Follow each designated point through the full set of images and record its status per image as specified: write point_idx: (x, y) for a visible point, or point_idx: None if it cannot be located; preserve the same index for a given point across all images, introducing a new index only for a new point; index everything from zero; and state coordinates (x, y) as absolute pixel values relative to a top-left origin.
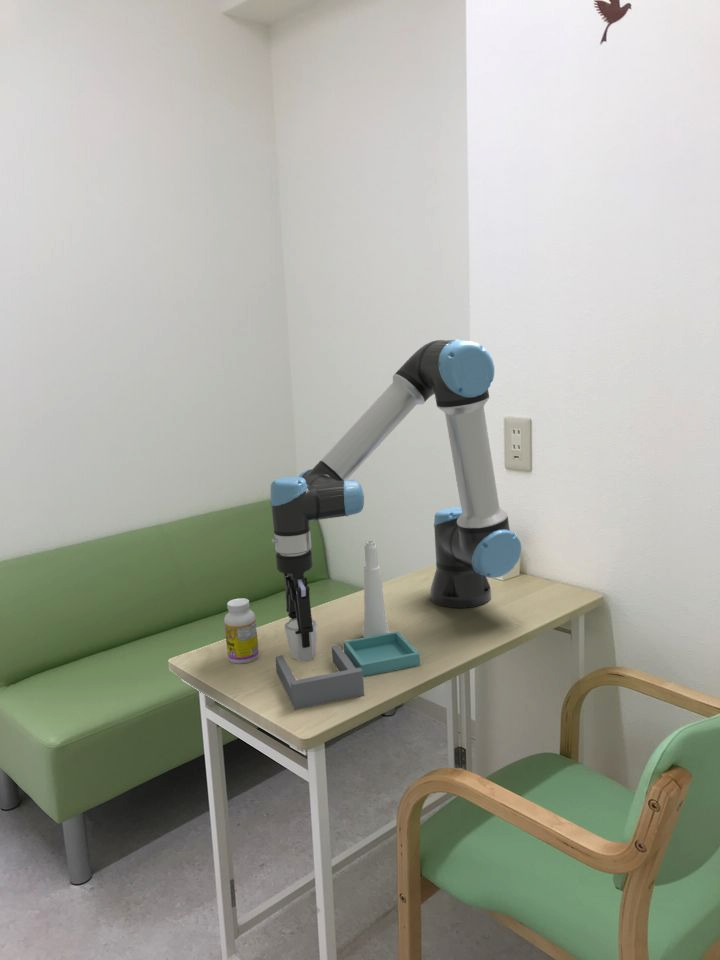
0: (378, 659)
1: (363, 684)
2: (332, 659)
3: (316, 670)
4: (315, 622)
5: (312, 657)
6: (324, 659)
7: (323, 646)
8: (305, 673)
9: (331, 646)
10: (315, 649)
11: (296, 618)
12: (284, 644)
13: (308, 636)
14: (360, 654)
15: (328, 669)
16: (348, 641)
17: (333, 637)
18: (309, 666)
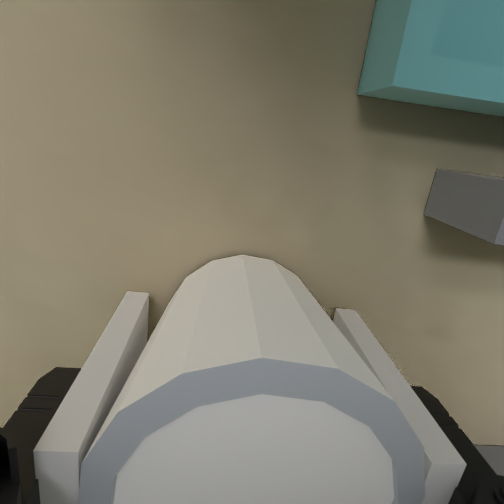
0: None
1: None
2: (434, 217)
3: (454, 321)
4: (310, 373)
5: (358, 316)
6: (367, 242)
7: (189, 179)
8: (445, 372)
9: (495, 243)
10: (294, 280)
11: (52, 498)
12: (47, 368)
13: (482, 464)
14: (493, 10)
15: (488, 267)
16: (422, 41)
17: (66, 46)
18: (391, 336)
